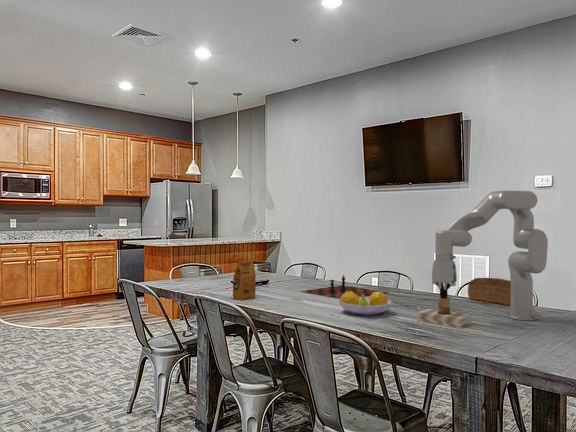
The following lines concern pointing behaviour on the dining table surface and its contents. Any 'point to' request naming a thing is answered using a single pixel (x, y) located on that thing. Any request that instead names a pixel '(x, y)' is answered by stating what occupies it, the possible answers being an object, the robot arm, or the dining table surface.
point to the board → (444, 318)
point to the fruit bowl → (365, 303)
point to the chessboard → (341, 290)
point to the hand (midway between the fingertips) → (443, 297)
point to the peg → (444, 306)
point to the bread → (490, 290)
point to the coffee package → (244, 281)
